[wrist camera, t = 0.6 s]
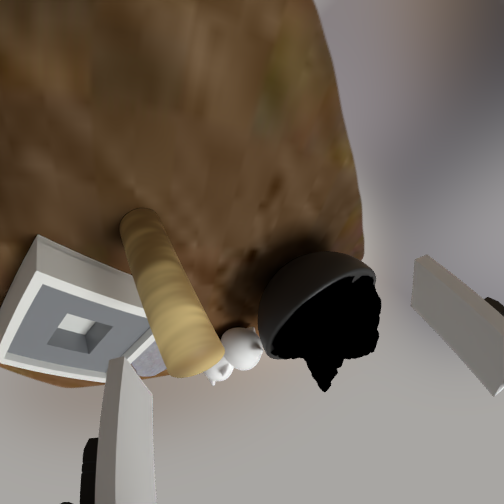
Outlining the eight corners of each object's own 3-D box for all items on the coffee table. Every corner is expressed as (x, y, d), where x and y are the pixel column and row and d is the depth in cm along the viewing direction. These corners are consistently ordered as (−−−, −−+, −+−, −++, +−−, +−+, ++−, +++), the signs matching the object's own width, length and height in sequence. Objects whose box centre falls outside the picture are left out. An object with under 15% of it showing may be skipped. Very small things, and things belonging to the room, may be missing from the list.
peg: (110, 233, 29) (155, 375, 19) (137, 200, 28) (196, 340, 19) (142, 248, 32) (197, 378, 23) (168, 219, 32) (236, 347, 22)
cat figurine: (218, 399, 50) (276, 365, 50) (179, 363, 46) (241, 324, 46) (213, 369, 58) (264, 338, 58) (179, 334, 54) (233, 298, 54)
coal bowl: (326, 199, 43) (422, 294, 31) (343, 263, 59) (407, 335, 47) (211, 285, 43) (281, 403, 31) (260, 325, 59) (314, 406, 47)
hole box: (-7, 326, 27) (-7, 361, 24) (37, 234, 24) (36, 270, 21) (102, 354, 41) (110, 383, 38) (164, 288, 38) (177, 318, 35)
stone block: (109, 327, 41) (135, 364, 47) (115, 351, 38) (143, 386, 44) (181, 295, 45) (197, 336, 51) (192, 316, 41) (209, 356, 48)
